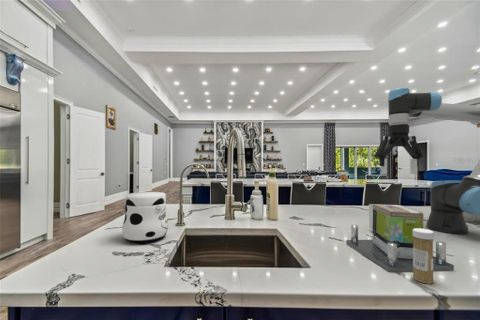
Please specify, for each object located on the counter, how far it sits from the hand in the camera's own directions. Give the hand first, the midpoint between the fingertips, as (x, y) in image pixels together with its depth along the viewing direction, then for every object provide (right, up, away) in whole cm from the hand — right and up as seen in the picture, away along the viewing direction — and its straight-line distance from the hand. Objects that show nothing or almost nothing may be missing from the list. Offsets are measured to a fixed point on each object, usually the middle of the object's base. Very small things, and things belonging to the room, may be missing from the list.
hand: (398, 174), depth 105 cm
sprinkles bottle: (-19, -26, -39) cm, 51 cm away
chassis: (-17, -26, -22) cm, 38 cm away
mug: (-5, -27, +6) cm, 28 cm away
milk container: (-107, -26, -6) cm, 110 cm away
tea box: (-16, -25, -22) cm, 37 cm away
